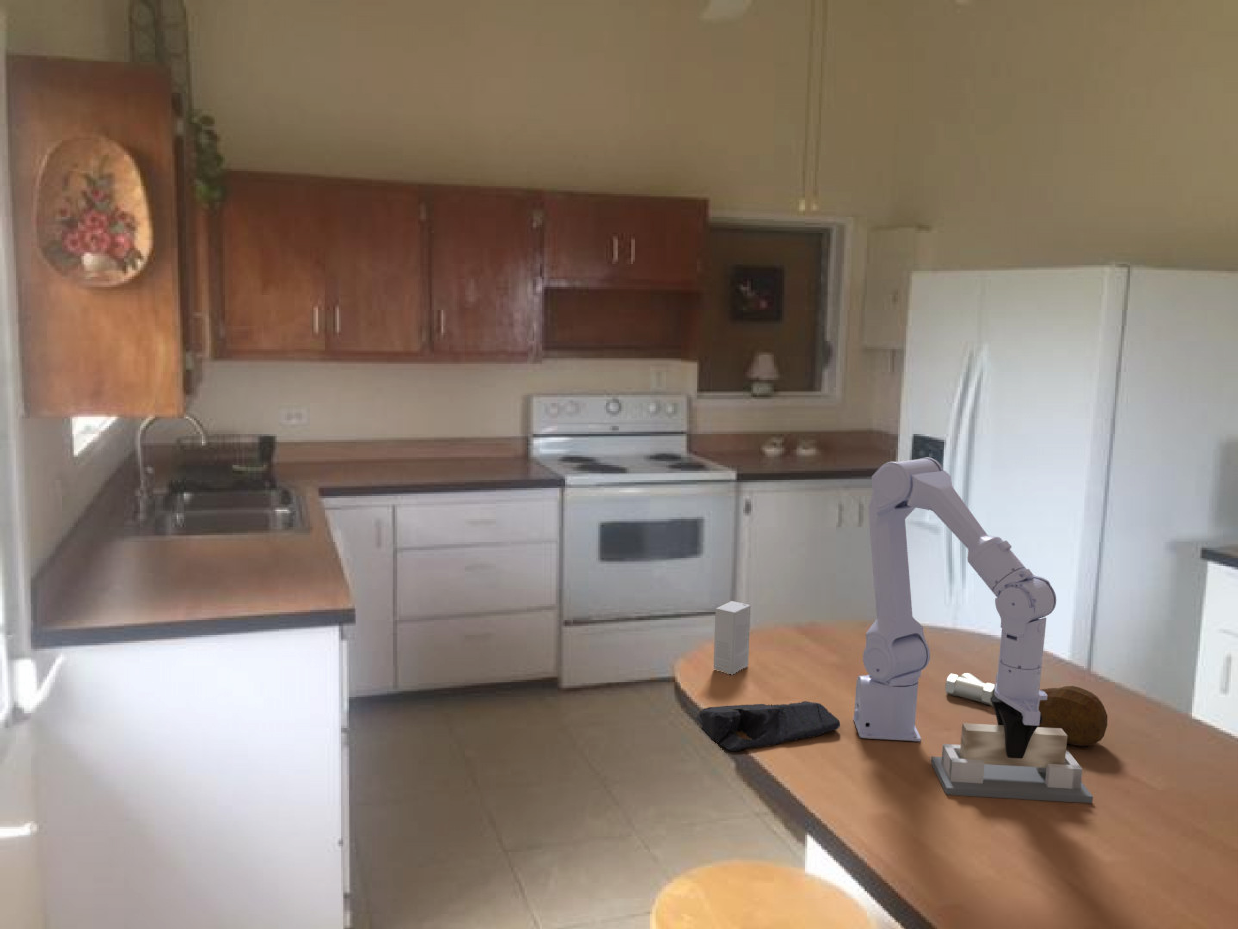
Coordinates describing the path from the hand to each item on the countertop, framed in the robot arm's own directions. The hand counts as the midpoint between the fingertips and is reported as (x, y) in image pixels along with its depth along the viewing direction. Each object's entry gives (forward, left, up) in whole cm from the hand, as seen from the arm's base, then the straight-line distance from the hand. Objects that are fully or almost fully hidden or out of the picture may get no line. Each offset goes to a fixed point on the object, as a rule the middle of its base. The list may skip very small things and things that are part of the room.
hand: (1011, 752), depth 152 cm
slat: (0, 0, -2) cm, 2 cm away
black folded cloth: (-34, +15, -5) cm, 37 cm away
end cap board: (0, 0, -5) cm, 5 cm away
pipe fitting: (+3, +33, -5) cm, 33 cm away
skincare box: (-39, +40, -5) cm, 56 cm away
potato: (+14, +17, -5) cm, 23 cm away
